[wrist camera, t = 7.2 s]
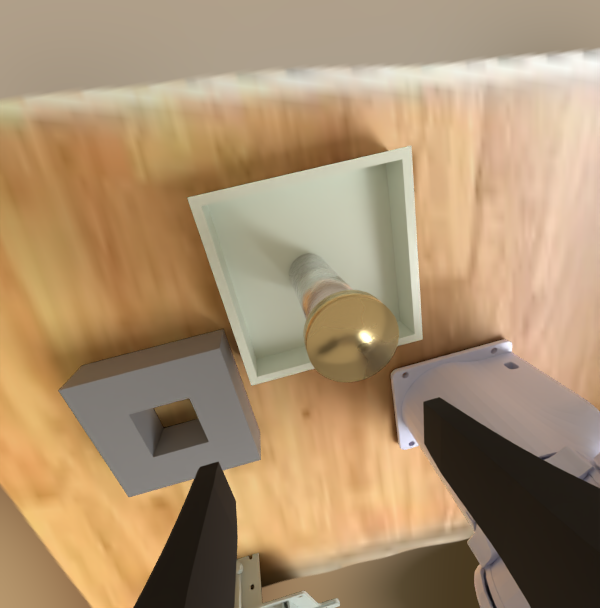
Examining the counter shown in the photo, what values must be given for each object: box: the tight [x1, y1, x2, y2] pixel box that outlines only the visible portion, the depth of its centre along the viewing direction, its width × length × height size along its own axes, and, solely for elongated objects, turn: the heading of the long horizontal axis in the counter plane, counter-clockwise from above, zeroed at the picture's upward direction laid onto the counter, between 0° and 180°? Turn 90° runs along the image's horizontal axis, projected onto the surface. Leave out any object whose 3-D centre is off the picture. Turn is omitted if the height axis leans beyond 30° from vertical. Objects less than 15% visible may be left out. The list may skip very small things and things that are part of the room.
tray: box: [187, 146, 423, 386], centre depth 17 cm, size 11×11×2 cm
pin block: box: [58, 329, 261, 497], centre depth 20 cm, size 9×9×2 cm
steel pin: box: [289, 253, 399, 382], centre depth 14 cm, size 3×3×9 cm
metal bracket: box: [234, 553, 340, 608], centre depth 30 cm, size 14×6×15 cm
